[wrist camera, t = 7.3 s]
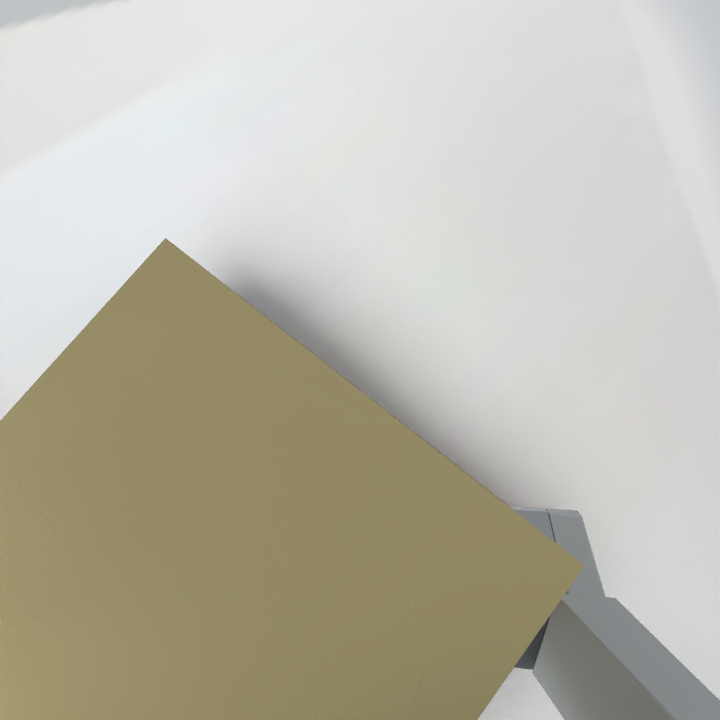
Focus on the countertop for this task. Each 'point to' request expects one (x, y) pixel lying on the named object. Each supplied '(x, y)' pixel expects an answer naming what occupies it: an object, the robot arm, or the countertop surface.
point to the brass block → (244, 532)
